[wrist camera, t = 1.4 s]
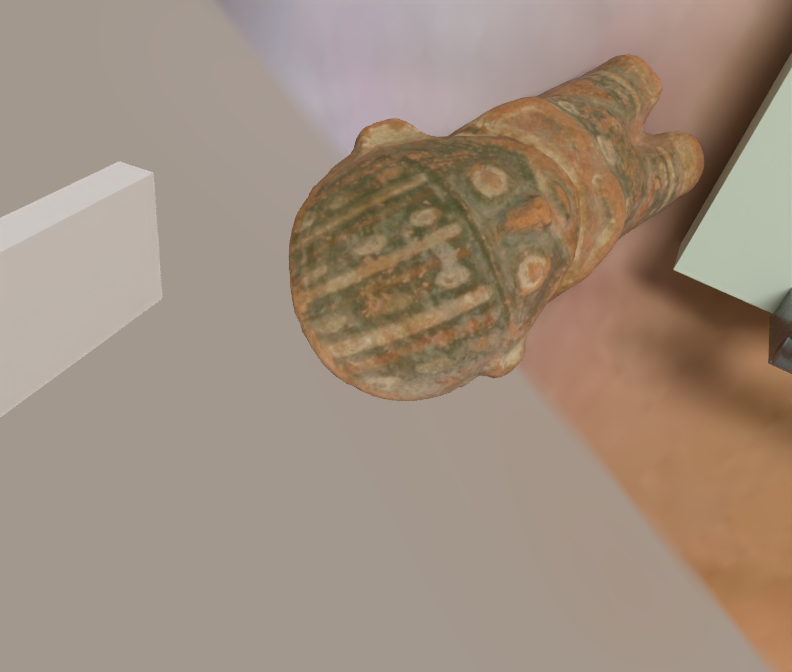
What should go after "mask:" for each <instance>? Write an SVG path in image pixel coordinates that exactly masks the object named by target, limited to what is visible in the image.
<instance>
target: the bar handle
mask: <svg viewBox="0 0 792 672" xmlns="http://www.w3.org/2000/svg"><path fill="white" fill-rule="evenodd" d="M768 363H769V364H771V365H773V366H775V367H777V368H780V369H782V370H784V371H786V372H788V373H791V374H792V288H791V289H790V291H789V292H788V293H787V295H786V296H785V298H784V299H783V300H782V302H781V303H780V305H779V306H778V307H777V309H776V310H775V312H774V313H773V314H772V316H771V317H770V328H769V360H768Z"/></svg>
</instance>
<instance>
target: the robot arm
mask: <svg viewBox="0 0 792 672" xmlns="http://www.w3.org/2000/svg"><path fill="white" fill-rule="evenodd" d="M162 298H163V297H162V283H161V269H160V256H159V242H158V229H157V216H156V200H155V186H154V173H152V172H150V171H146V170H144V169H140V168H137V167H134V166H132V165H128V164H126V163H123V162H120V161H119V162H117V163H115V164H112V165H110V166H108V167H106V168H104V169H102V170H100V171H98V172H96V173H93V174H91V175H89V176H87V177H85V178H83V179H81V180H79V181H77V182H75V183H73V184H70V185H68V186H66V187H64V188H62V189H60V190H58V191H56V192H53V193H52V194H49V195H47V196H45V197H43V198H41V199H39V200H37V201H35V202H32V203H31V204H28V205H26V206H24V207H22V208H20V209H18V210H16V211H13V212H11V213H9V214H7V215H5V216H3V217H1V218H0V417H1V416H3V415H4V414H6V413H7V412H8V411H10V410H11V409H12V408H14V407H15V406H16V405H18V404H19V403H20V402H22V401H23V400H25V399H26V398H27V397H29V396H30V395H31V394H33V393H34V392H36V391H37V390H38V389H39V388H41V387H42V386H44V385H45V384H46V383H47V382H49V381H51V380H52V379H53V378H55V377H56V376H57V375H59V374H60V373H61V372H63V371H64V370H66V369H67V368H68V367H70V366H71V365H72V364H74V363H75V362H76V361H78V360H79V359H80V358H82V357H83V356H85V355H86V354H87V353H89V352H90V351H91V350H93V349H94V348H96V347H97V346H98V345H100V344H101V343H102V342H104V341H105V340H106V339H108V338H109V337H111V336H112V335H113V334H114V333H116V332H117V331H119V330H120V329H121V328H123V327H124V326H126V325H127V324H128V323H129V322H131V321H132V320H134V319H135V318H136V317H138V316H139V315H141V314H142V313H143V312H144V311H146V310H147V309H149V308H150V307H151V306H153V305H154V304H156V303H157V302H158V301H160V300H161V299H162Z"/></svg>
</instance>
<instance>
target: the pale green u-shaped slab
mask: <svg viewBox="0 0 792 672" xmlns="http://www.w3.org/2000/svg"><path fill="white" fill-rule="evenodd" d="M673 270H675V271H677V272H680V273H682V274H684V275H686V276H689V277H691V278H693V279H695V280H698V281H700V282H702V283H704V284H707V285H709V286H711V287H713V288H716V289H718V290H720V291H722V292H725V293H727V294H729V295H732V296H734V297H736V298H738V299H741V300H743V301H745V302H747V303H750V304H752V305H754V306H756V307H759V308H761V309H763V310H765V311H768V312H770V313H772V314H773V313H774V312H775V310H776V309H777V307H778V306H779V305H780V303H781V302H782V300H783V299H784V298H785V296H786V295H787V293H788V292H789V291H790V289H791V288H792V52H791V54H790V56H789V57H788V59H787V61H786V63H785V64H784V66H783V68H782V69H781V71H780V73H779V75H778V76H777V78H776V80H775V82H774V83H773V85H772V87H771V88H770V90H769V92H768V94H767V95H766V97H765V99H764V101H763V102H762V104H761V106H760V107H759V109H758V111H757V113H756V114H755V116H754V118H753V120H752V121H751V123H750V125H749V127H748V128H747V130H746V132H745V133H744V135H743V137H742V139H741V140H740V142H739V144H738V146H737V147H736V149H735V151H734V152H733V154H732V156H731V158H730V159H729V161H728V163H727V165H726V166H725V168H724V170H723V171H722V173H721V175H720V177H719V178H718V180H717V182H716V184H715V185H714V187H713V189H712V190H711V192H710V194H709V196H708V197H707V199H706V201H705V203H704V204H703V206H702V208H701V210H700V211H699V213H698V215H697V216H696V218H695V220H694V222H693V223H692V225H691V227H690V229H689V230H688V232H687V234H686V235H685V237H684V239H683V241H682V242H681V244H680V247H679V251H678V254H677V258H676V262H675V265H674V269H673Z"/></svg>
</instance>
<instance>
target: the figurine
mask: <svg viewBox="0 0 792 672" xmlns="http://www.w3.org/2000/svg"><path fill="white" fill-rule="evenodd" d="M661 91H662V84H661V81H660V79H659V77H658V76H657V75H656V73H655V72H654V71H653V70H652V69H651V67H650V66H649V65H648V64H647V63H646V62H645V61H644V60H643V59H641V58H639V57H638V56H633V55H622V56H616V57H614V58H612V59H610V60H608V61H607V62H605V63H604V64H602V65H600V66H599V67H597V68H595V69H594V70H592V71H590V72H588V73H586V74H585V75H583V76H581V77H578V78H576V79H573V80H570V81H567V82H565V83H563V84H561V85H559V86H557V87H554V88H552V89H550V90H548V91H546V92H544V93H543V94H541V95H538V96H536V97H524V98H521V99H518V100H514V101H511V102H508V103H505V104H502V105H500V106H497V107H495V108H493V109H491V110H489V111H487V112H486V113H484V114H482V115H481V116H479V117H478V118H476V119H475V120H473V121H472V122H470V123H468V124H466V125H465V126H463V127H461V128H460V129H458V130H457V131H455V132H454V133H452V134H450V135H449V136H445V137H435V136H429V135H427V134H425V133H422V132H420V131H419V130H418V129H417V128H416V127H414V126H413V125H411V124H409V123H407V122H405V121H403V120H400V119H387V120H384V121H380V122H377V123H374V124H372V125H370V126H367V127H365V128H364V129H363V130H362V131H361V132H360V134H359V135H358V137H357V139H356V142H355V146H354V149H353V151H352V153H351V154H350V155H349V156H347V157H346V158H345V159H344V160H342V161H341V162H340V163H338V164H337V165H335V166H334V167H333V168H332V169H331V170H330V171H329V173H328V174H327V175H326V176H325V177H324V178H323V179H322V180H321V181H320V182H319V183H318V184H317V185H315V186H314V187H313V189H312V190H311V192H310V194H309V197H308V198H307V199H306V201H305V202H304V204H303V205H302V207H301V208H300V210H299V211H298V213H297V215H296V218H295V221H294V225H293V228H292V233H291V239H290V246H289V247H290V248H289V270H290V287H291V294H292V300H293V306H294V310H295V314H296V316H297V318H298V320H299V322H300V324H301V328H302V332H303V333H304V335H305V336H306V338H307V340H308V341H309V343H310V345H311V347H312V349H313V350H314V352H315V353H316V355H317V356H318V358H319V359H320V360H321V362H322V363H323V364H324V365H325V366H326V367H327V368H328V369H329V370H330V371H331V372H332V373H333V374H334V375H335V376H336V377H338V378H339V379H341V380H342V381H344V382H345V383H347V384H349V385H353V386H354V387H356V388H358V389H359V390H361V391H364V392H365V393H368V394H370V395H372V396H375V397H379V398H383V399H389V400H397V401H414V400H422V399H428V398H433V397H437V396H441V395H444V394H447V393H450V392H452V391H453V390H455V389H456V388H458V387H463V386H464V385H467V384H469V383H470V382H471V381H472V380H473V379H475V378H476V377H477V376H480V375H481V376H488V377H491V378H497V377H502V376H504V375H506V374H508V373H509V372H511V371H512V370H513V369H514V368H515V367H516V366H517V365H518V364H519V363H520V362H521V361H522V358H523V356H524V353H525V343H526V337H527V333H528V331H529V329H530V328H531V327H532V325H533V324H534V322H535V321H536V319H537V317H538V316H539V314H540V313H541V311H542V310H543V309H544V307H545V306H546V304H547V303H548V302H550V301H551V300H553V299H554V298H556V297H557V296H559V295H560V294H561V293H563V292H564V291H566V290H568V289H569V288H571V287H573V286H575V285H577V284H578V283H579V282H581V281H582V280H584V279H585V278H586V277H588V276H589V275H590V273H591V272H592V271H593V270H594V269H595V268H596V267H597V266H598V265H599V263H600V262H601V261H602V260H603V259H604V258H605V256H606V255H607V254H608V253H609V252H610V251H611V249H612V247H613V246H614V244H615V243H616V241H617V240H618V239H620V238H621V237H622V236H623V235H625V234H626V233H628V232H629V231H631V230H632V229H634V228H635V227H637V226H638V225H640V224H641V223H643V222H644V221H646V220H647V219H649V218H650V217H652V216H654V215H655V214H657V213H659V212H660V211H662V210H663V209H665V208H666V207H667V206H669V205H670V204H671V203H672V202H674V201H675V200H676V199H678V198H679V197H681V196H683V195H685V194H686V193H688V192H689V191H690V190H691V189H692V188H693V187H694V186H695V185H696V184H697V182H698V181H699V180H700V177H701V174H702V171H703V168H704V154H703V152H702V149H701V147H700V144H699V143H698V141H697V140H696V139H695V138H694V137H693V136H692V135H691V134H686V133H681V132H668V133H662V134H656V135H653V134H648V133H645V131H644V123H645V121H646V119H647V117H648V115H649V113H650V112H651V110H652V109H653V107H654V106H655V104H656V103H657V101H658V100H659V97H660V94H661Z"/></svg>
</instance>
